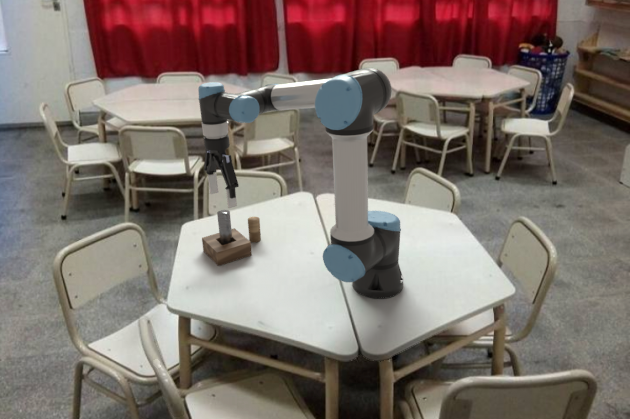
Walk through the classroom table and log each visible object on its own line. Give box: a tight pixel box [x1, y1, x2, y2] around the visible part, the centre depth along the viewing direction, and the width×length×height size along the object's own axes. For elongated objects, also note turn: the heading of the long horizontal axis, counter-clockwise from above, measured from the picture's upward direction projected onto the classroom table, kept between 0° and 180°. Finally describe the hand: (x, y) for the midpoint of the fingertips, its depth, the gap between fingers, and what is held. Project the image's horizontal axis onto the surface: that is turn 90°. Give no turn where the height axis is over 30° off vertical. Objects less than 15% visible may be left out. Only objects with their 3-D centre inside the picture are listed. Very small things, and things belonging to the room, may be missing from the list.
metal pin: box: [216, 209, 233, 245], centre depth 180 cm, size 4×4×14 cm
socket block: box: [201, 228, 253, 267], centre depth 182 cm, size 12×12×5 cm
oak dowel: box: [247, 216, 262, 244], centre depth 190 cm, size 4×4×8 cm
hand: (223, 199), depth 175 cm, fingers open, 13 cm apart
